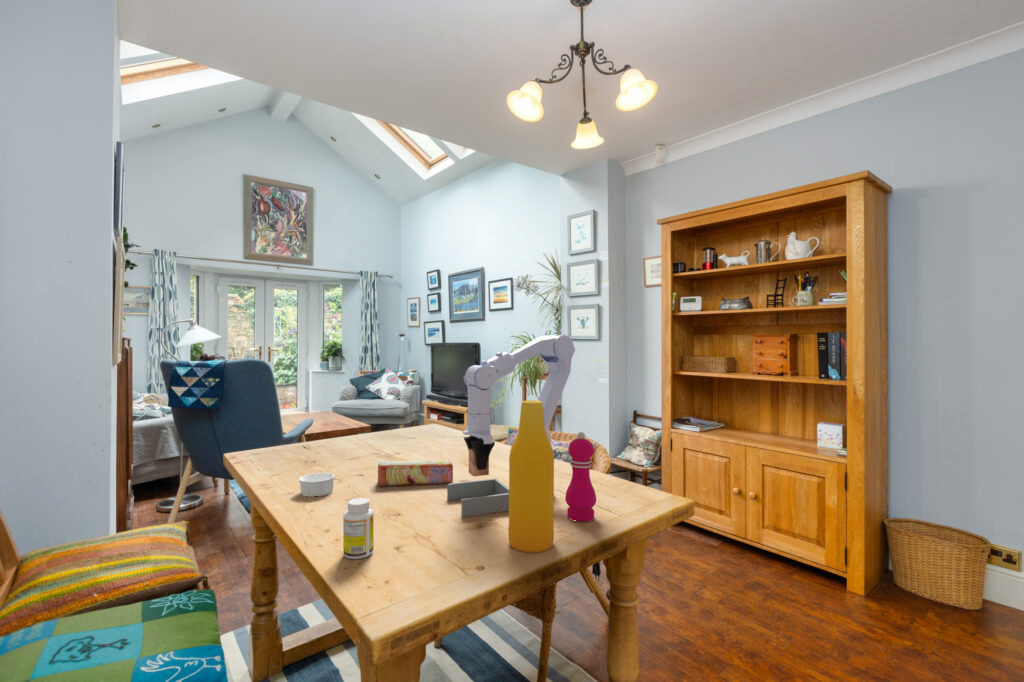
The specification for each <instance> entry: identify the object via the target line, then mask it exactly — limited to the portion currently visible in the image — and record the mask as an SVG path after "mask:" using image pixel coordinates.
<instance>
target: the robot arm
mask: <svg viewBox="0 0 1024 682" xmlns="http://www.w3.org/2000/svg"><path fill="white" fill-rule="evenodd" d="M575 351H576V348H575V345H574V342H573V340H572V338H571V337H570V336H569V335H567V334H566V335H565V334H561V335H547V334H544V335H541V336H540V337H535V338H534V339H533V340H531V341H530V342H528V343H526V344H525V345H523V346H521V347H520V348H518V349H516V350H514V351H512V352H511V353H508V352H506V351H503V352H502V351H498V352H496V353H495V355H494V356H493V357H491V358H489V359H487V360H486V359H483V360H481V362H480V365H479V364H478V365H477V364H475V365H471V366H469V367H468V368H467V370H466V371H465V374H464V376H463V382H464V383H465V385H466V387H467V426H466V430H462V434H463V435H466V436H464V437H463V440H464V442H465V444H466V447H467V450H468V451H469V449H472V448H473V449H474V452H475V457H476V466H477V469H478V470H484V469H486V467H487V463H488V459H489V460H490V455H491V452H492V450H493V449H494V447H495V443H496V442H495V441H493V440H494V439H493V438H494V436H493V435H492V430H491V405H492V404H491V401H492V398H491V397H492V395H491V393H492V392H491V391H492V388H493V386H494V385H495V382H497V381H499V380H501V379H503V378H504V377H506V376H508V375H510V374H512V373H513V372H514V371H515V370H516V366H517V365H519V364H522V363H523V362H525V361H527V360H530V359H532V358H534V357H536V356H540V358H541V359H542V360H543V363H544V364H545V365H546V366H547V368H548V371H549V372H548V375H547V377H546V379H545V382H544V384H543V387H542V389H541V391H540V394H539V396H538V399H537V401H542V404H543V414H544V424H545V431H546V434H547V437H548V439H549V441H550V442H551V440H552V437H551V436H550V433H549V431H548V429H549V427H550V423H552V420H553V417H554V415H555V413H556V409H557V406H558V404H559V403H560V402H559V401H560V400H561V399H560V398H561V397H562V394H563V391H564V389H565V387H566V384H567V382H568V379H569V377H570V374H571V370H572V369H571V368H572V359H573V356H574V354H575ZM516 436H517V434H515V436H513V438H512V441H511V444H510V445H511V446H510V447H512V444H513V442H514V440H515V438H516Z"/></svg>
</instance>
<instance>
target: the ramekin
mask: <svg viewBox="0 0 1024 682" xmlns="http://www.w3.org/2000/svg"><path fill="white" fill-rule="evenodd" d="M335 476H336V475H335V474H333V473H331V472H315V473H314V472H313V473H309V474H305V475H302V476H300V477H299V479H298V480H299V484H300V494H301V496H303V497H306V496H308V497H307V498H313V497H314V496H318V497H323V496H322V495H324V496H326V494H327V495H329V494H331V493H332V492H333V490H334V480H335ZM314 498H315V497H314Z"/></svg>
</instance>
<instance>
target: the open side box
mask: <svg viewBox="0 0 1024 682" xmlns="http://www.w3.org/2000/svg"><path fill="white" fill-rule="evenodd" d="M446 485H447V488H446V491H447V494H446V495H447V496H446V499H447V501H451V500H452V501H453V500H460V499H461V507H460V508H461V511H460V513H461V515H460V516H461V517H462V518H465V517H473V515H474V516H480V515H481V516H482V515H487V514H495V513H501V512H509V486H507V485H505V483H503V482H502V481H500V480H499V479H498V478H497V477H496V478H487V479H479V480H469V481H460V482H453V483H449V484H446ZM492 494H493V495H492Z"/></svg>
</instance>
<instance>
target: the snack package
mask: <svg viewBox="0 0 1024 682" xmlns="http://www.w3.org/2000/svg"><path fill="white" fill-rule="evenodd" d="M453 471H454V466H453V462H452V461H451V460H449V459H439V460H438V459H437V460H430V459H429V460H397V461H396V460H395V461H394V460H393V461H392V460H382V461H381V460H380V461H379V462H378V464H377V485H378V487H391V486H409V485H432V484H433V485H439V484H441V485H443V484H442V483H449V484H450V483H452V482H453V479H454V474H453V473H454V472H453Z"/></svg>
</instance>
